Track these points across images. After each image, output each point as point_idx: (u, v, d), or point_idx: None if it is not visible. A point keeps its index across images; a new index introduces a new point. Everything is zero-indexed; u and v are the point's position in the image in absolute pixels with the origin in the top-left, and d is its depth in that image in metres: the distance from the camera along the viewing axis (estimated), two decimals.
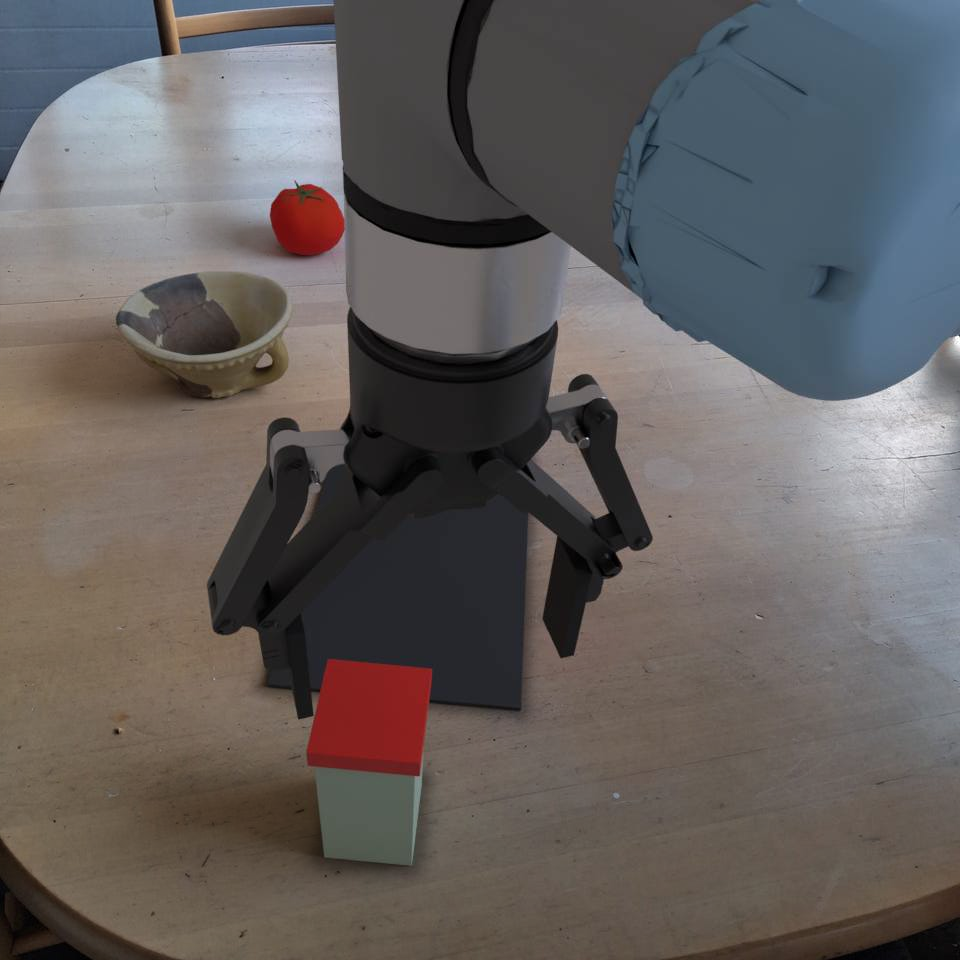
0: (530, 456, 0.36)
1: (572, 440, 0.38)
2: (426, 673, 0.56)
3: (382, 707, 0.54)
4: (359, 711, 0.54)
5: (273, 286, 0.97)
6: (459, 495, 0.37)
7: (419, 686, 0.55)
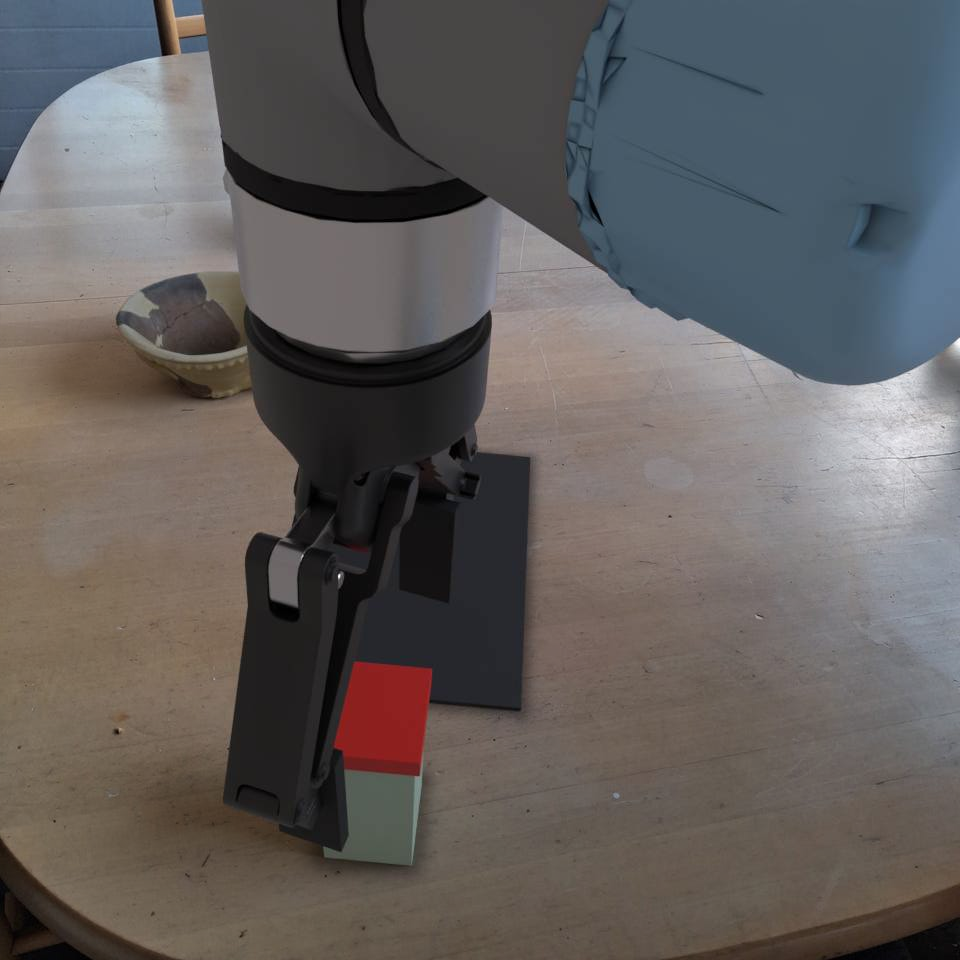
0: None
1: None
2: (426, 673, 0.56)
3: (382, 707, 0.54)
4: (359, 711, 0.54)
5: None
6: None
7: (419, 686, 0.55)
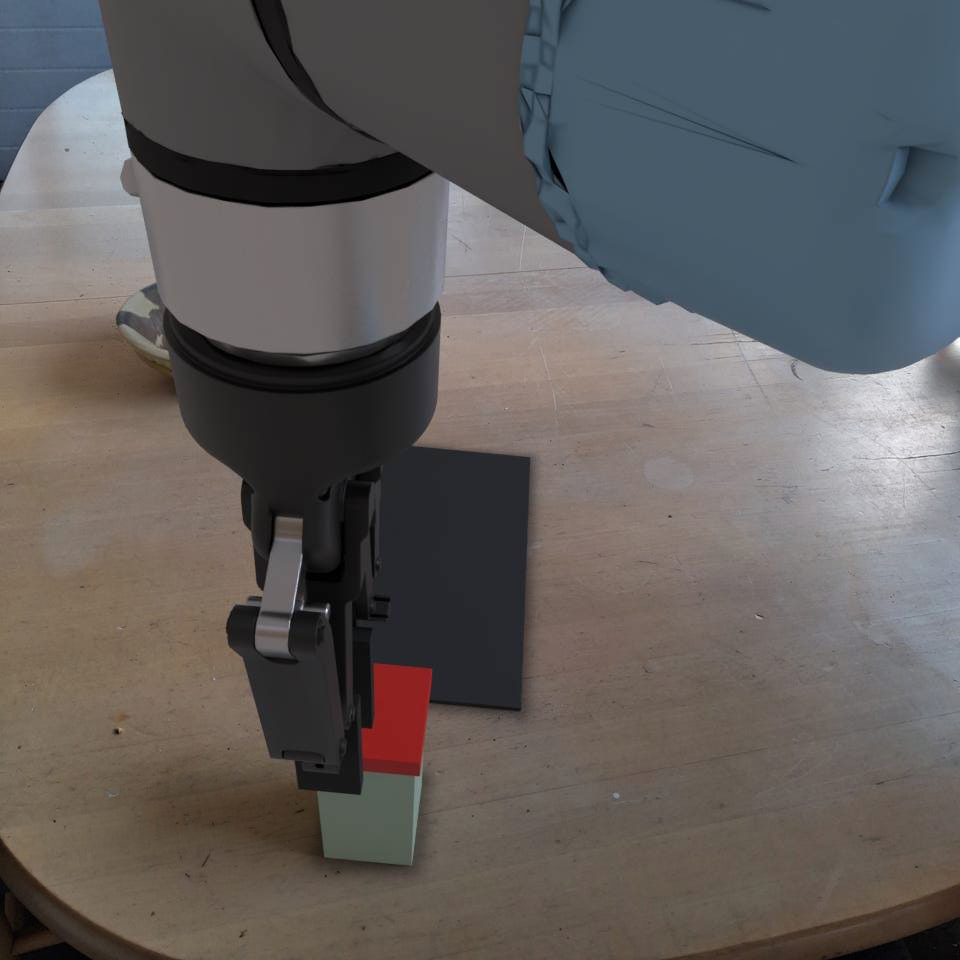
0: None
1: None
2: (426, 673, 0.56)
3: (382, 707, 0.54)
4: None
5: None
6: None
7: (419, 686, 0.55)
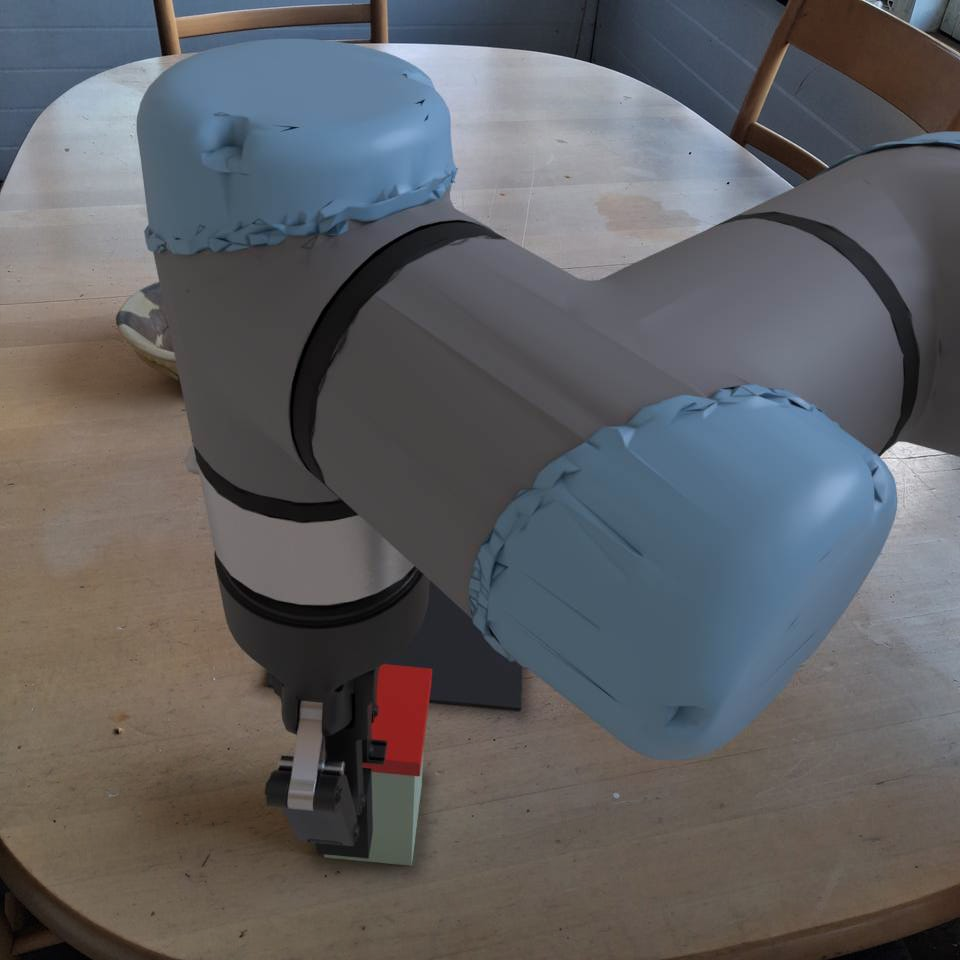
0: None
1: None
2: (426, 673, 0.56)
3: (382, 707, 0.54)
4: None
5: None
6: None
7: (419, 686, 0.55)
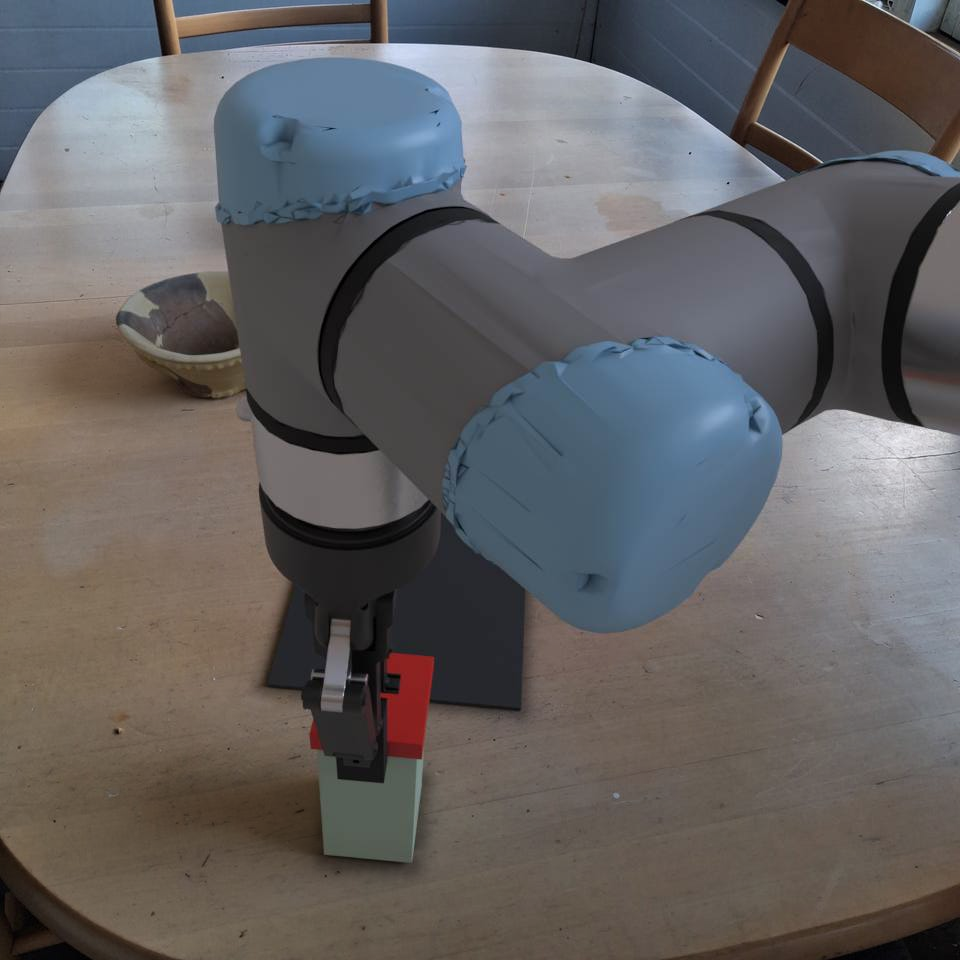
0: None
1: None
2: (428, 661, 0.57)
3: None
4: None
5: None
6: None
7: (421, 673, 0.56)
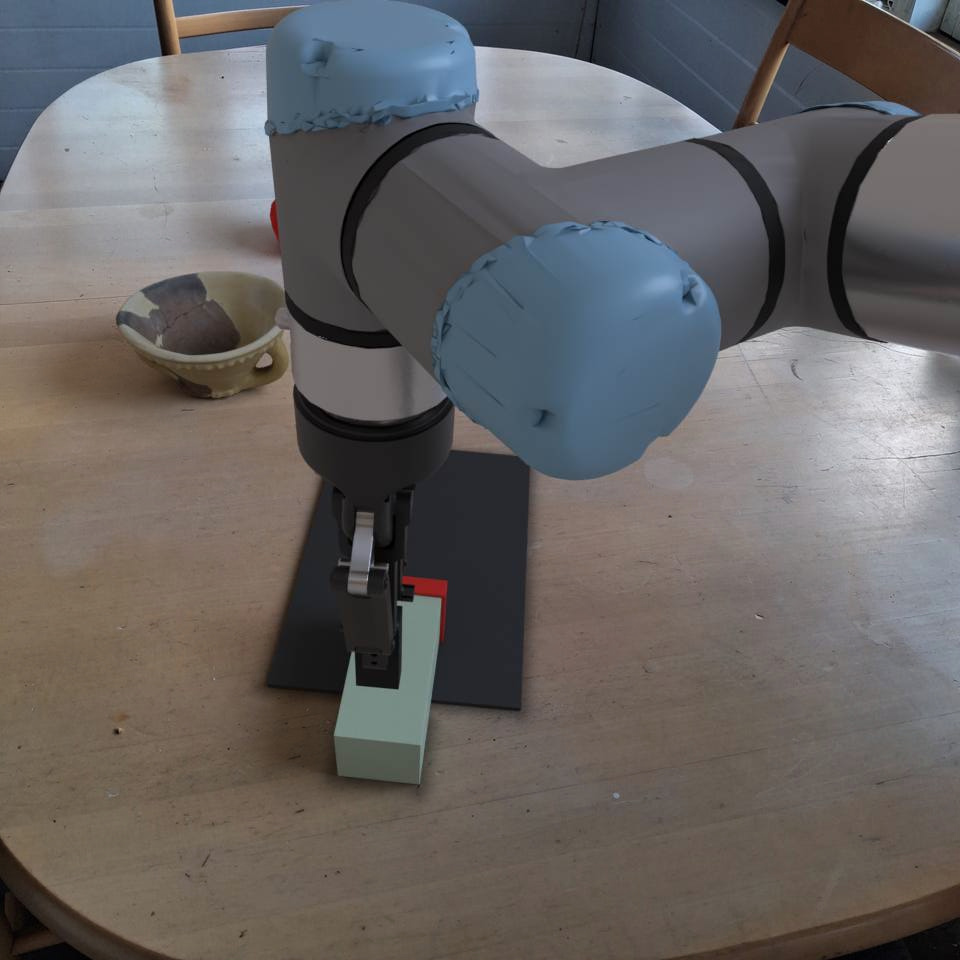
0: None
1: None
2: None
3: None
4: None
5: (273, 286, 0.97)
6: None
7: None
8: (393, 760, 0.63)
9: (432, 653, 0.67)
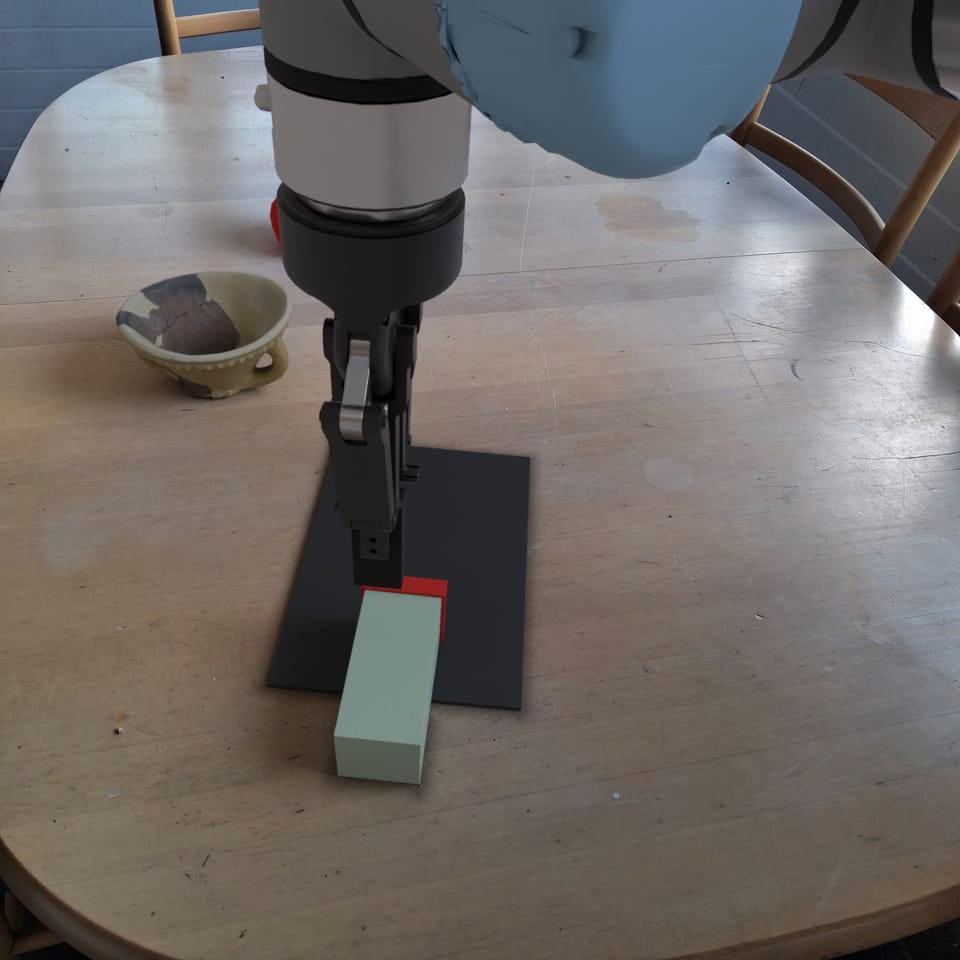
0: None
1: None
2: None
3: None
4: None
5: (273, 286, 0.97)
6: None
7: None
8: (393, 760, 0.63)
9: (432, 653, 0.67)
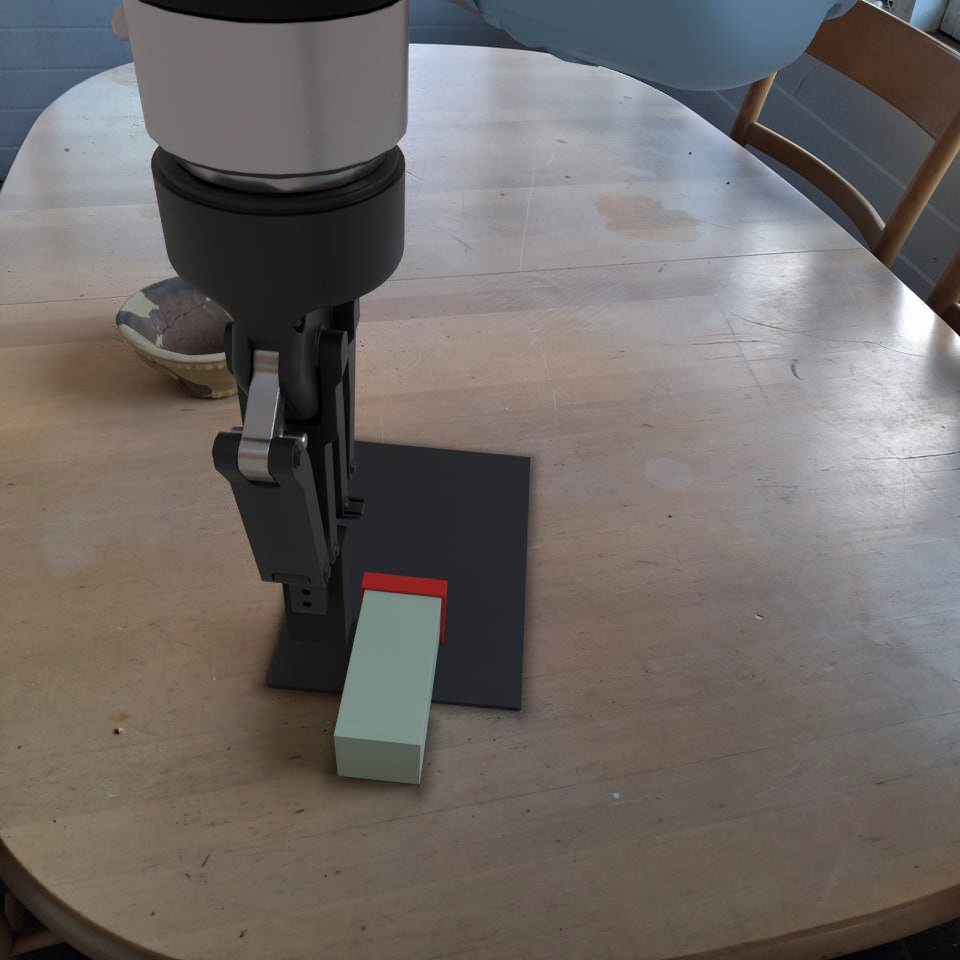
0: None
1: None
2: None
3: None
4: None
5: None
6: None
7: None
8: (393, 760, 0.63)
9: (432, 653, 0.67)
